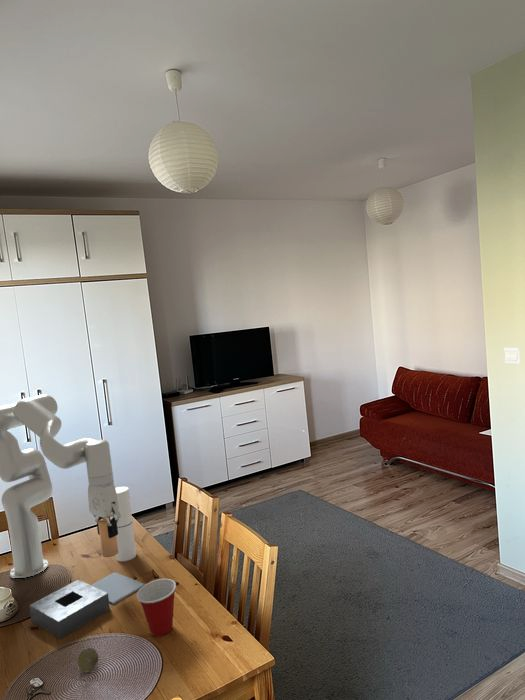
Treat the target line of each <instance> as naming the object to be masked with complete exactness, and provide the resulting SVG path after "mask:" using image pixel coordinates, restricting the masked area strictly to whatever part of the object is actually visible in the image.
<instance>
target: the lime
mask: <svg viewBox="0 0 525 700" xmlns="http://www.w3.org/2000/svg"><path fill="white" fill-rule="evenodd" d="M98 654H99V653H98V652H97V650H95V649H94V648H92V647H88V648H85V649H84V650H82V651H81V653H80V654H79V655H78V658H77V665H78V667H79V668H80V670H81V671H82V672H85V673H91V672H92V671H93V670H95V669H96V667H97V665H98V662H99V655H98Z"/></svg>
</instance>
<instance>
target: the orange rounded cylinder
mask: <svg viewBox="0 0 525 700" xmlns="http://www.w3.org/2000/svg"><path fill="white" fill-rule="evenodd" d="M112 518H113V517H110V519H112ZM98 525H99V533H100V535H99V539H100V546H101V555H102V557H103V558H111V557H116V554H118V552H119V551H118V543H117V536H114V537H112V538H109V536H108V528H107V526H109V525H108V522H107V518H103V519H101V520H99V521H98Z"/></svg>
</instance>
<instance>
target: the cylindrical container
mask: <svg viewBox="0 0 525 700" xmlns="http://www.w3.org/2000/svg"><path fill="white" fill-rule="evenodd" d="M129 489H130V488H129V487H128V486H117V487H116V486H115V490H116V494H117V499H118V506H119V513H120V515H121V517H120V518H119V519H118V523H117V529H118V535H116V536H117V543H118V551H119V552H118V554H116V555H115V559H116V561H117V562H127V561H131V560H133V559H134V558H136V556H137V550H136V549H137V548H136V541H135V532H134V525H133V517H132V514H133V513H132V506H131V505H132V504H131V499H130V491H129ZM111 514H112V513H111ZM112 517H113V516H112Z"/></svg>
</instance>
